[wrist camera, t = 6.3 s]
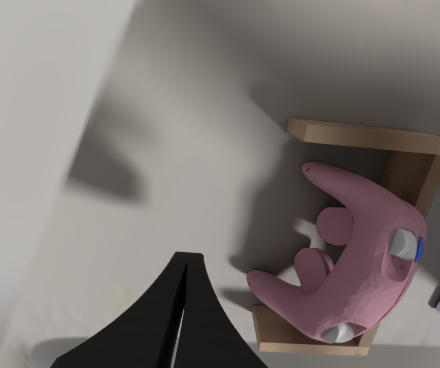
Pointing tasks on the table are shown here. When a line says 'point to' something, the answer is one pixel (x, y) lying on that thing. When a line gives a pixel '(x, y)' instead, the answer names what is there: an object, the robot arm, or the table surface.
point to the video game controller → (348, 260)
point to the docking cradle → (391, 180)
